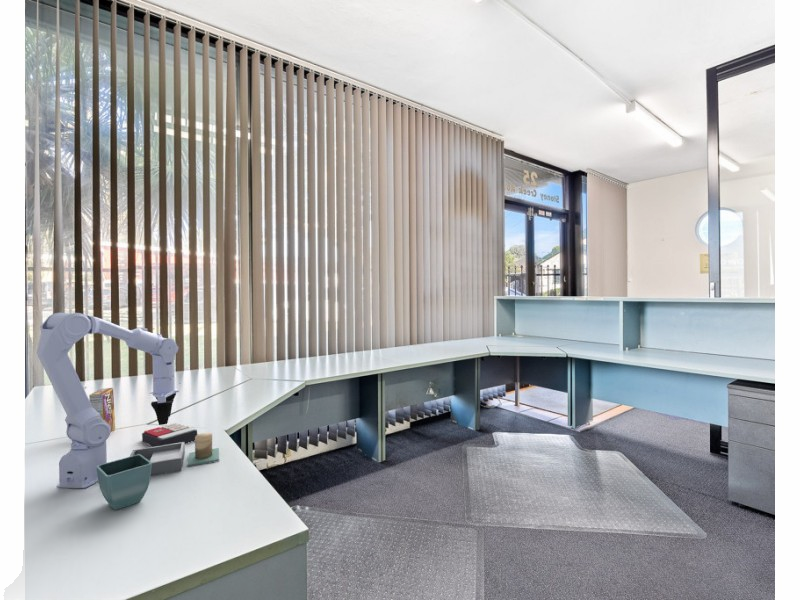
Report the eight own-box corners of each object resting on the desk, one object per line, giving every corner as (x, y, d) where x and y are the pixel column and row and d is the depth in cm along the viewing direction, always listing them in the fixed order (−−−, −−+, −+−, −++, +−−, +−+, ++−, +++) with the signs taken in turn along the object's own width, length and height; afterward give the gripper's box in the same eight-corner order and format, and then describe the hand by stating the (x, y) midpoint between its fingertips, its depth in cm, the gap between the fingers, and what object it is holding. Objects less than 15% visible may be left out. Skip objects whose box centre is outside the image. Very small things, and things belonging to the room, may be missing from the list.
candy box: (101, 430, 137) (100, 388, 137) (115, 429, 138) (114, 387, 138) (89, 439, 128) (88, 394, 128) (104, 438, 130) (103, 393, 129)
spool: (206, 459, 110) (206, 438, 110) (191, 458, 110) (191, 438, 110) (215, 452, 114) (215, 433, 114) (200, 452, 115) (200, 432, 115)
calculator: (176, 421, 136) (197, 427, 127) (176, 433, 136) (198, 440, 127) (141, 430, 127) (161, 437, 118) (141, 443, 127) (162, 451, 118)
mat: (187, 466, 107) (187, 464, 107) (189, 454, 115) (189, 452, 115) (219, 461, 110) (219, 459, 110) (218, 449, 118) (218, 447, 118)
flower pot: (140, 489, 95) (139, 453, 94) (153, 500, 89) (152, 462, 89) (96, 504, 88) (95, 465, 88) (107, 518, 82) (106, 476, 82)
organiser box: (123, 481, 98) (123, 468, 98) (133, 462, 110) (133, 449, 110) (181, 470, 104) (181, 458, 104) (184, 453, 116) (184, 441, 116)
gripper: (176, 379, 113) (177, 425, 113) (180, 371, 126) (181, 412, 126) (148, 382, 110) (149, 429, 110) (155, 373, 123) (156, 415, 123)
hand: (164, 420), depth 118 cm, fingers open, 7 cm apart
